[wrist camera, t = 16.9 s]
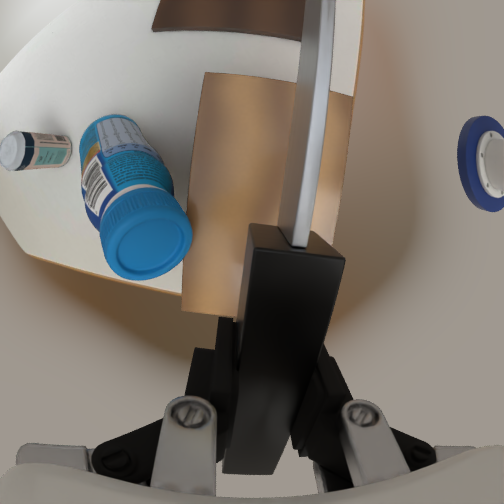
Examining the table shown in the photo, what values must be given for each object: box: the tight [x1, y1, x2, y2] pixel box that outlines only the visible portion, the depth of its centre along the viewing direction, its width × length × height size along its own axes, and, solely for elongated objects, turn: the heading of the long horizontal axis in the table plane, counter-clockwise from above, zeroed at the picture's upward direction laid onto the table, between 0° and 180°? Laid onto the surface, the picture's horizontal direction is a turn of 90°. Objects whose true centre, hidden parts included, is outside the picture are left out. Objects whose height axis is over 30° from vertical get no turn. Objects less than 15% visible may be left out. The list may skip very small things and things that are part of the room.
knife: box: [222, 0, 346, 475], centre depth 7 cm, size 21×2×3 cm, turn 172°
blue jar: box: [79, 114, 193, 280], centre depth 24 cm, size 8×8×20 cm
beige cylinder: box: [0, 131, 71, 171], centre depth 25 cm, size 5×5×12 cm
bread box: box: [181, 72, 353, 317], centre depth 28 cm, size 12×20×14 cm, turn 173°
